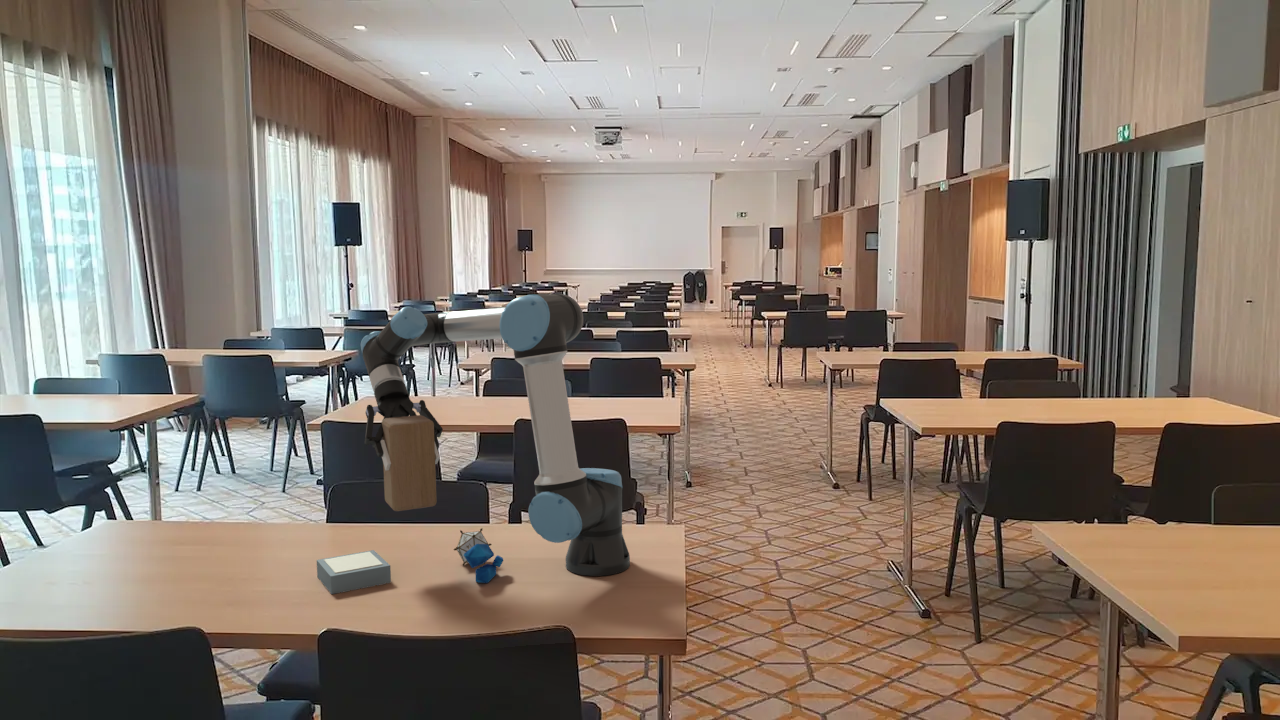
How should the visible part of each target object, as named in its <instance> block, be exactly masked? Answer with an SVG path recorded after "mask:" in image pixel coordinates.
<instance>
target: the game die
mask: <svg viewBox="0 0 1280 720" xmlns="http://www.w3.org/2000/svg"><path fill="white" fill-rule="evenodd" d="M459 531H460V534H461V535H460V538H459V539H458V540H459V541H458V543H457V546H455V548H454V549H453V551H457V553H458V554H459V556H460V557H459V558H461V560H462V567H464V566H465V564H469V563H468V561H467V560H466V558H465V557H464V553H466V552H467V551H468V550H469V549H471V548H472V547H473V546H474V545H476V544H488V546H489V547H491V546H492V543H488V540H487V539H486V538H485V536H484V534H483V532H482V531H483V527H481V528H480V530H477V531H468V532H464V531H463V530H461V529H459ZM483 564H484V565H486V562H485V563H483Z"/></svg>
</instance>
